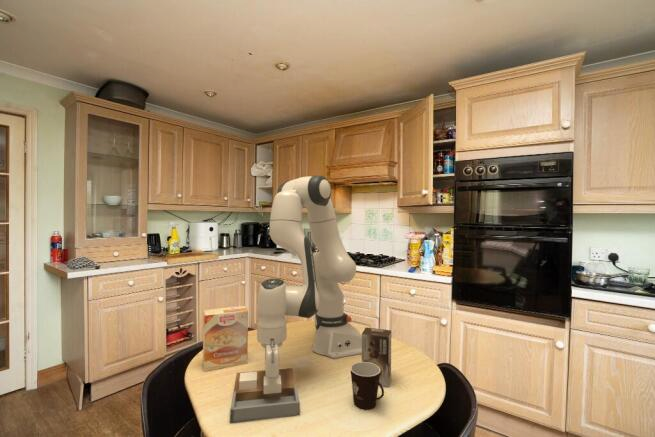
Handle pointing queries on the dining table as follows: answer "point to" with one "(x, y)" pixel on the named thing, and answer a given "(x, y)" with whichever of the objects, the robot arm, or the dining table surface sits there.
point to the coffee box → (378, 351)
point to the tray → (264, 408)
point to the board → (258, 392)
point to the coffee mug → (365, 384)
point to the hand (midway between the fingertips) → (271, 378)
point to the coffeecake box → (225, 337)
